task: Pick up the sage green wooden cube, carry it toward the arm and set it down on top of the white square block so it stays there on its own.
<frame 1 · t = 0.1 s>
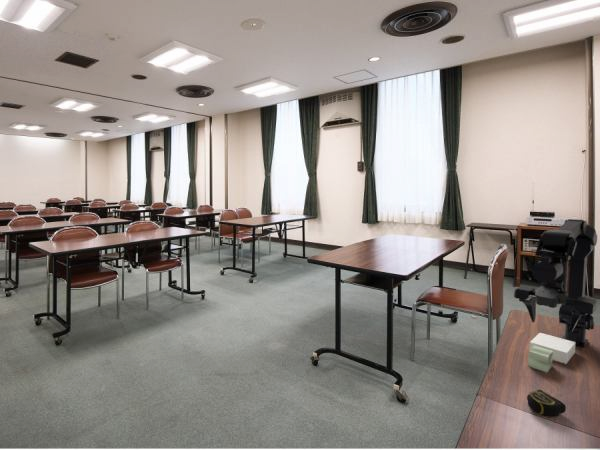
hand: (551, 326, 101), 14 cm above the table, fingers open, 9 cm apart
tape measure: (544, 410, 88), on the table
green cube: (539, 366, 107), on the table
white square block: (551, 353, 114), on the table
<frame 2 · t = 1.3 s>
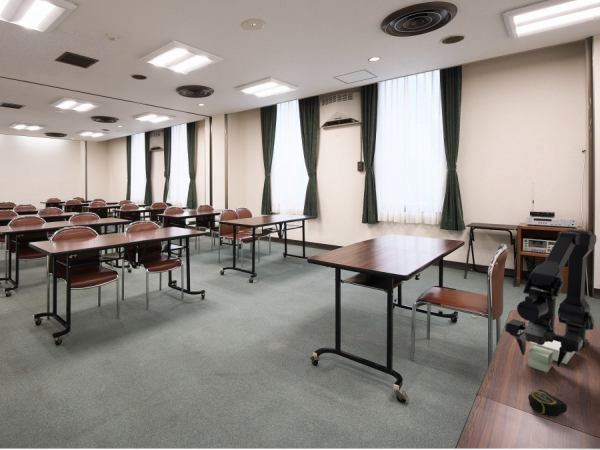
hand: (540, 360, 106), 2 cm above the table, fingers open, 9 cm apart
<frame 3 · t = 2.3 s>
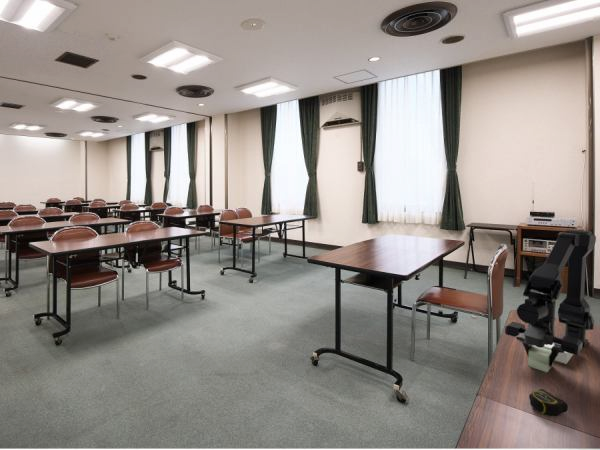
hand: (540, 362, 107), 1 cm above the table, fingers closed on green cube, 5 cm apart
green cube: (540, 366, 107), on the table, touching gripper
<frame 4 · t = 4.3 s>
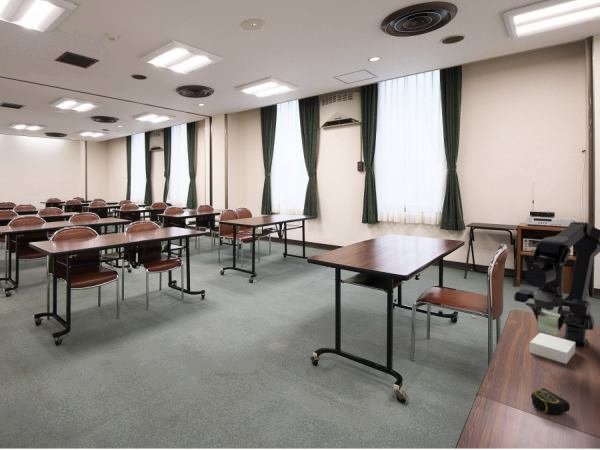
hand: (549, 326, 110), 11 cm above the table, fingers closed on green cube, 5 cm apart
green cube: (549, 330, 110), point 9 cm above the table, touching gripper
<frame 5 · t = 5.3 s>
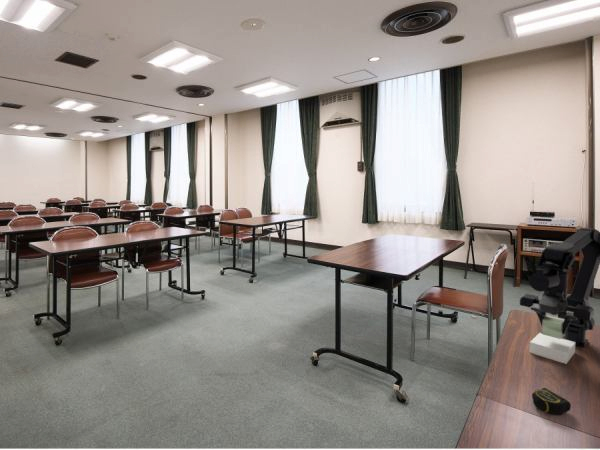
hand: (553, 331, 113), 7 cm above the table, fingers closed on green cube, 5 cm apart
green cube: (553, 334, 113), point 6 cm above the table, touching gripper
when the fingers open (6 cm above the table, at t = 6.2 s): green cube drops 2 cm, point 4 cm above the table.
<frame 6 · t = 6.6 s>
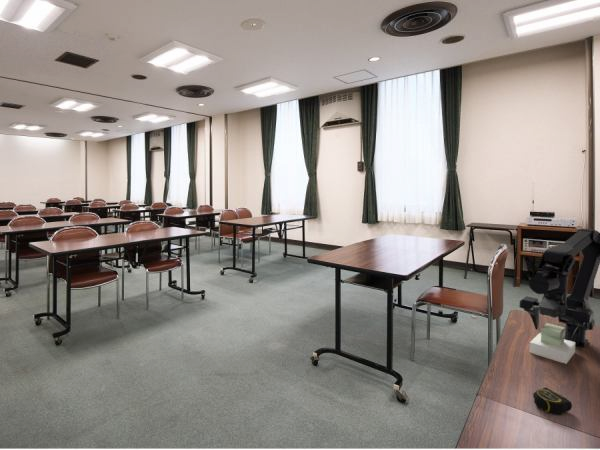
hand: (553, 333, 113), 6 cm above the table, fingers open, 9 cm apart
green cube: (552, 341, 114), point 4 cm above the table
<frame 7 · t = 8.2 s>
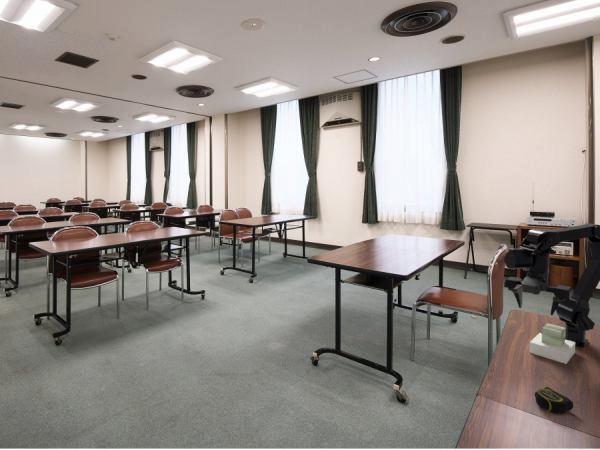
hand: (535, 311, 118), 12 cm above the table, fingers open, 9 cm apart
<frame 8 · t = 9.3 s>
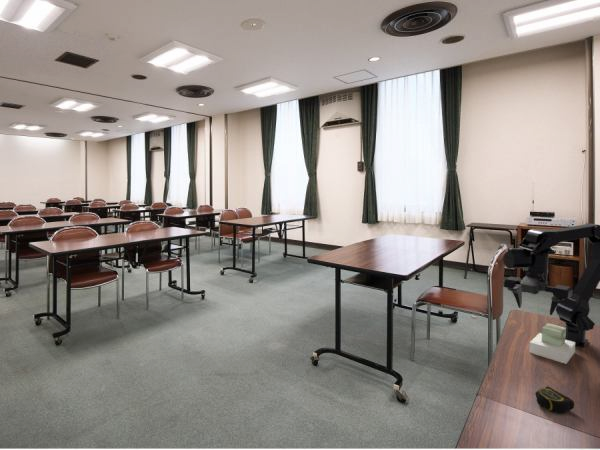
hand: (534, 311, 118), 12 cm above the table, fingers open, 9 cm apart
at the end: green cube inside the target area on the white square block (0.3 cm from its centre), point 4.0 cm above the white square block's base; green cube tilted 0°; the gripper is holding nothing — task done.
